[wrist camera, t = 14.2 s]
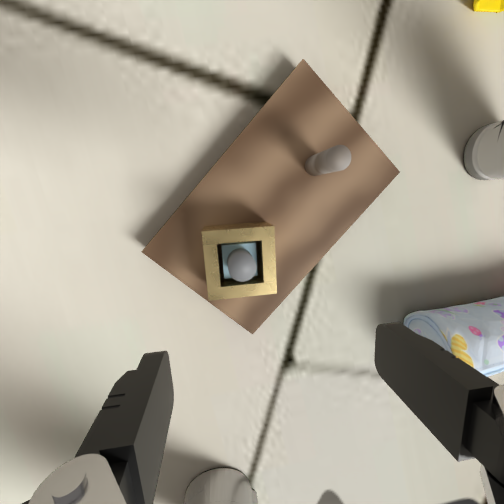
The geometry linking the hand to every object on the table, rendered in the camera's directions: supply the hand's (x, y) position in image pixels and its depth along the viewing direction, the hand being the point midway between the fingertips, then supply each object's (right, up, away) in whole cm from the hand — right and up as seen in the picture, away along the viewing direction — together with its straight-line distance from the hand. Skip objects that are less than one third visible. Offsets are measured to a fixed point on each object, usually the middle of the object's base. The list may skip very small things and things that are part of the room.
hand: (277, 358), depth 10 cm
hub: (-2, +4, +17) cm, 18 cm away
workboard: (+1, +9, +19) cm, 21 cm away
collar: (-2, +4, +17) cm, 18 cm away
